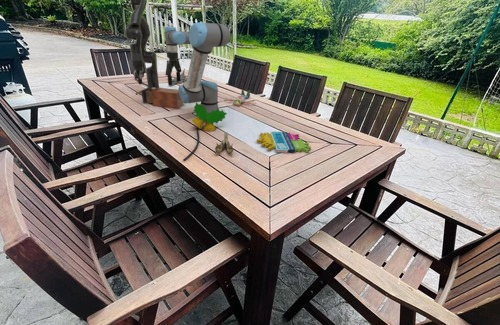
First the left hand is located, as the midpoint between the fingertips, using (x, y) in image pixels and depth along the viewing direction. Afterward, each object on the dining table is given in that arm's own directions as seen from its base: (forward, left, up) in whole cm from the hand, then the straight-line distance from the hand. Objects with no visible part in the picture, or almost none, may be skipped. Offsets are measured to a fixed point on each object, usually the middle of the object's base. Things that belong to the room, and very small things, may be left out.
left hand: (140, 84), depth 196 cm
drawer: (+6, +6, -13) cm, 16 cm away
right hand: (+19, +20, +4) cm, 28 cm away
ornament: (+70, +23, -14) cm, 75 cm away
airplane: (-55, +49, -14) cm, 75 cm away
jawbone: (+102, +17, -14) cm, 104 cm away
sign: (+107, +52, -14) cm, 120 cm away
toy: (+26, +74, -14) cm, 79 cm away
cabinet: (+15, +15, -14) cm, 25 cm away
